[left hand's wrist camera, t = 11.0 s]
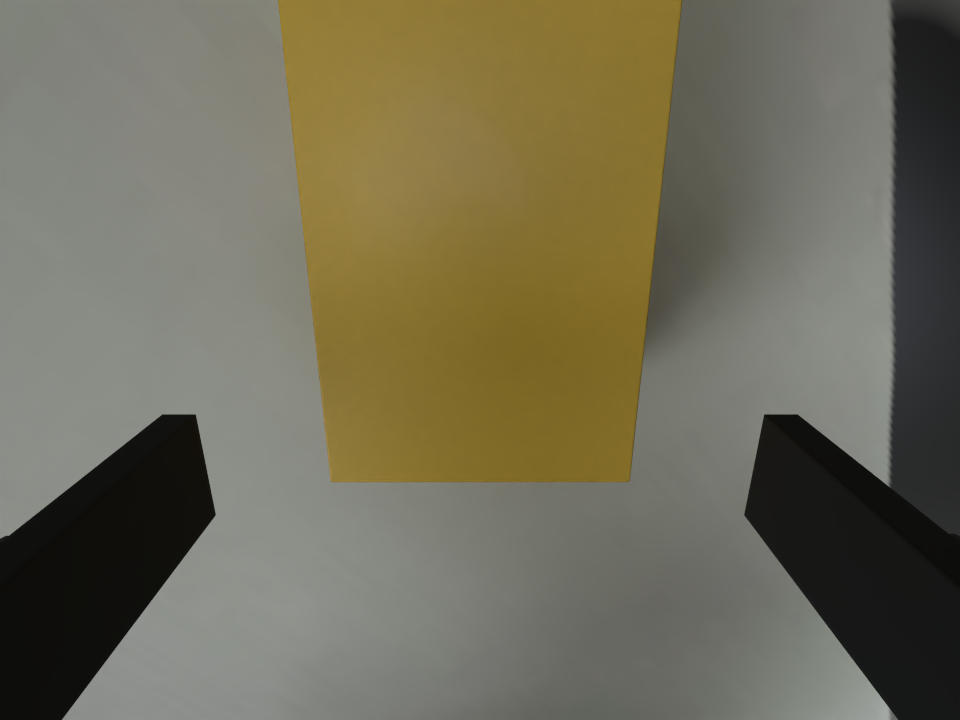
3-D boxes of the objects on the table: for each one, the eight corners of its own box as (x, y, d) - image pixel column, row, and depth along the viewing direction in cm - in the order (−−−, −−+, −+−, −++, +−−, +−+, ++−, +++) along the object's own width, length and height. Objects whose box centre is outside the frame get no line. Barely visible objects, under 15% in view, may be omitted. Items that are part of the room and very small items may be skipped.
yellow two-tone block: (338, -57, 21) (256, -186, 13) (621, -57, 21) (704, -186, 13) (372, 393, 28) (330, 482, 20) (588, 393, 28) (630, 482, 20)
